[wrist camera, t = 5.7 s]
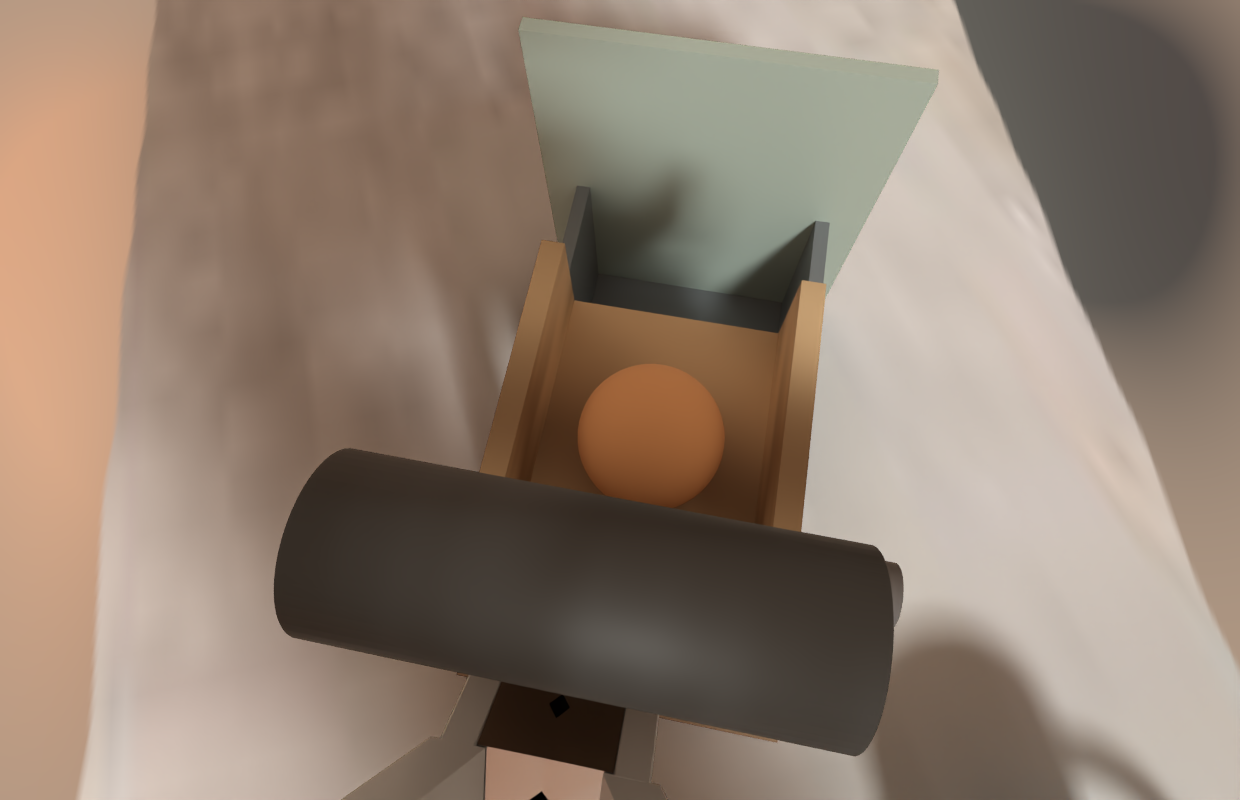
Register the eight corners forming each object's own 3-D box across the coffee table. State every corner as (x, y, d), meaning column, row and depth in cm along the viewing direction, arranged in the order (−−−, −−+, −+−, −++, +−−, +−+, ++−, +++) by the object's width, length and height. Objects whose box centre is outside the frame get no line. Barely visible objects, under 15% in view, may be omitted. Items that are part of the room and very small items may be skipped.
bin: (796, 505, 34) (924, 383, 19) (518, 454, 35) (430, 302, 20) (818, 303, 38) (938, 69, 23) (565, 264, 39) (522, 16, 24)
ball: (705, 535, 18) (722, 507, 15) (570, 509, 18) (555, 475, 15) (724, 406, 19) (744, 353, 16) (597, 385, 20) (589, 327, 16)
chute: (769, 711, 19) (1145, 858, 5) (458, 646, 19) (27, 617, 6) (806, 370, 22) (1089, -107, 8) (541, 326, 23) (397, -179, 9)
